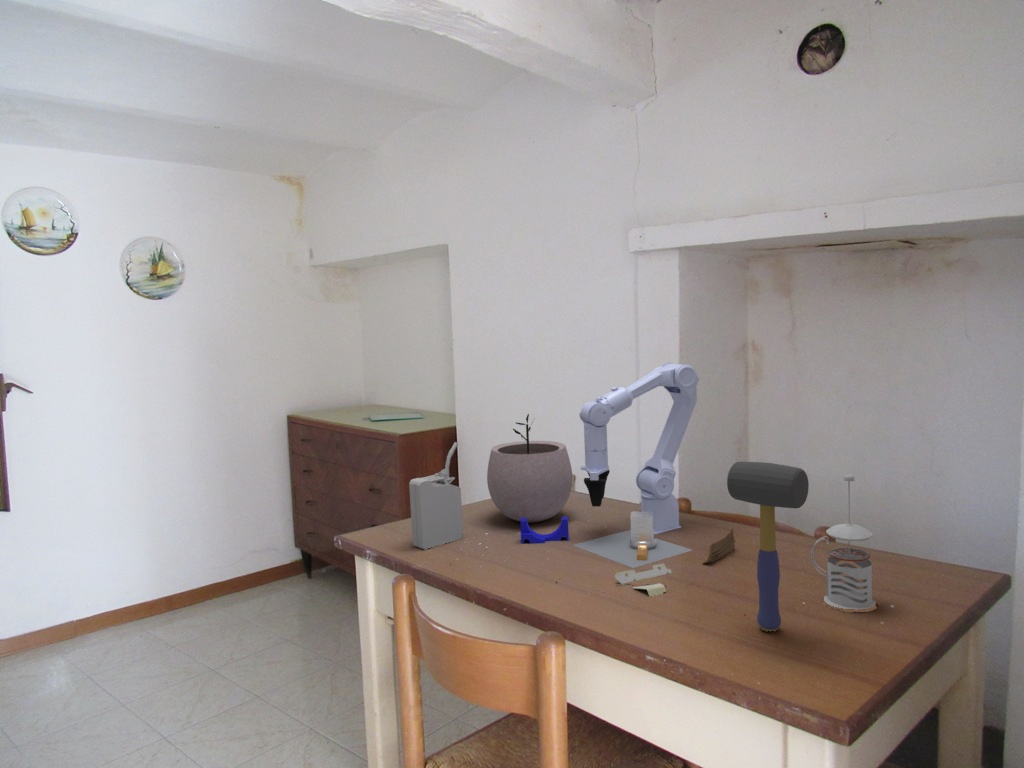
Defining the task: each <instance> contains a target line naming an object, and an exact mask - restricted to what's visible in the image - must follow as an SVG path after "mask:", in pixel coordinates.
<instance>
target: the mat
mask: <svg viewBox="0 0 1024 768" xmlns="http://www.w3.org/2000/svg"><path fill="white" fill-rule="evenodd" d="M630 537H631V529H629V530H625V531H621V532H617V533H614V534H609V535H606V536H601V537H597V538H594V539H589V540H586V541H583V542H578V543H574V544H572V546H573V547H576V548H579V549H581V550H584V551H587V552H589V553H591V554H594V555H597V556H600V557H602V558H605V559H608V560H610V561H612V562H616V563H618V564H621V565H623V566H626V567H628V568H631V569H635V568H639V567H642V566H646V565H648V564H653V563H655V562H659V561H663V560H665V559H669V558H672V557H675V556H679V555H683V554H686V553H688V552H689V553H690V552H692V551H694V550H693V549H690V548H688V547H685V546H681V545H679V544H675V543H672V542H669V541H665V540H662V539H659V538H656V539H657V547H656V548H654V549H651V550H648V551H647V560H637V549H633V548H631V547H630Z"/></svg>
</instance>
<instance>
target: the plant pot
mask: <svg viewBox="0 0 1024 768" xmlns="http://www.w3.org/2000/svg"><path fill="white" fill-rule="evenodd" d="M529 417H530V414H529V413H528V414H527V415H526V418H525V420H526V423H522V422H515V424H516V425H519V426H525V430H526V431H525V432H526V437H525V436H524V435H523V434H522V432H519V431H518V430H516V429H514V428H512V430H513V431H514V433H515V434H516V435H517V434H518V435H520V437H521V438H522V439H524V440H522V441H513V442H506V443H500V444H497V445H494V446H493V447H491V450H490V453H489V457H488V459H489V460H488V464H487V473H486V474H487V475H486V483H487V488H488V489H487V490H488V493H489V496H490V498H491V500H492V502H493V504H494V505H495V507H496V508H497V509H498V510H499V512H500V513H501V514H502V515H504V516H505V517H507V518H509V519H511V520H513V521H517V522H520V521H521V518H527V523H528V524H529V523H538V522H539V523H540V522H543V521H546V520H549V519H551V518H553V517H555V516H556V515H557V514H559V513H560V512H561V510H562V509H563V508H564V507H565V505H566V504H567V502H568V500H569V498H570V495H571V491H572V487H573V470H572V464H571V460H570V456H569V453H568V449H567V446H566V444H565V443H562V442H558V441H552V440H530V439H529V437H530V434H529V433H530V431H531V427H532V426H529V424H528V423H529ZM535 418H536V417H534V418H533V420H532V422H531V424H533V423H534V421H535Z"/></svg>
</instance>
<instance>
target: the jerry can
mask: <svg viewBox="0 0 1024 768" xmlns="http://www.w3.org/2000/svg"><path fill="white" fill-rule="evenodd" d="M458 445H459V443H458V442H456V441H454V443H453V445H452V447H451V448H450V449H449V451H448V453H447V456H446V460H445V467H444V469H442V470H441V469H440V471H439V472H436V473H434V474H433V475H427V476H425V477H423V476H422V477H416V478H412V479H410V481H409V483H408V484H409V485H408V486H409V487H408V488H409V499H410V500H409V503H410V505H409V506H410V520H411V537H412V546H414V547H416V548H419V549H422V550H426V551H427V550H429V549H428V548H430V549H432V548H431V547H433V548H435V547H434V546H437V547H439V546H438V545H440V546H442V545H441V544H444V545H446V544H445V543H447V544H450V543H452V541H454V542H456V541H455V540H457V541H459V540H458V539H461V540H462V539H463V538H464V526H463V507H462V488H461V487H460V486H457V485H454V484H451V483H453V481H454V480H456V477H455V476H451V477H450V465H451V458H452V456H453V455H454V453H455V451H456V449H457V447H458ZM449 542H450V543H449Z"/></svg>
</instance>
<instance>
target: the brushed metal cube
mask: <svg viewBox="0 0 1024 768" xmlns="http://www.w3.org/2000/svg"><path fill="white" fill-rule="evenodd" d="M630 530H631V542H653V538H654V537H655V534H654V528H653V512H642V511H631V512H630Z"/></svg>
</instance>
